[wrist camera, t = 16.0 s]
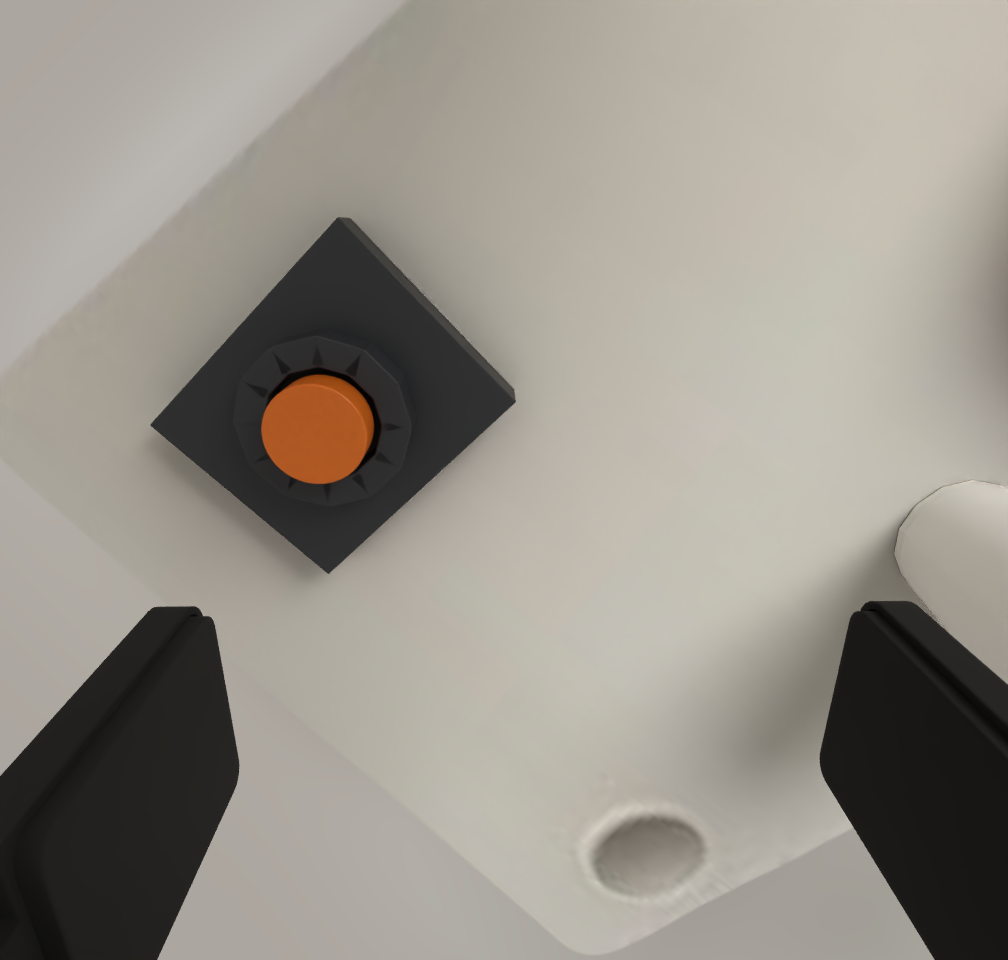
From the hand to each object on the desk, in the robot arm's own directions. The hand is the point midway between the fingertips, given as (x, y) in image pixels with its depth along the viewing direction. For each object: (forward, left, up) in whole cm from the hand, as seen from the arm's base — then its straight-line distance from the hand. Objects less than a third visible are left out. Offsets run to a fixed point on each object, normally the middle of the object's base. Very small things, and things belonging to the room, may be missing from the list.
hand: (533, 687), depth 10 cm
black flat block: (-4, -6, -21) cm, 23 cm away
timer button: (-4, -6, -18) cm, 19 cm away
